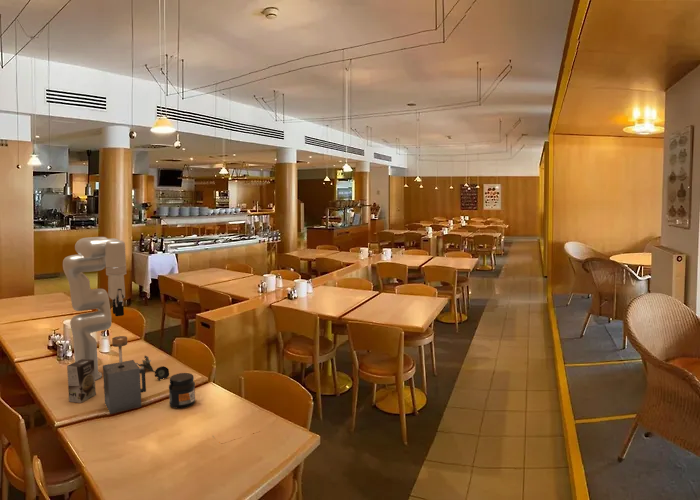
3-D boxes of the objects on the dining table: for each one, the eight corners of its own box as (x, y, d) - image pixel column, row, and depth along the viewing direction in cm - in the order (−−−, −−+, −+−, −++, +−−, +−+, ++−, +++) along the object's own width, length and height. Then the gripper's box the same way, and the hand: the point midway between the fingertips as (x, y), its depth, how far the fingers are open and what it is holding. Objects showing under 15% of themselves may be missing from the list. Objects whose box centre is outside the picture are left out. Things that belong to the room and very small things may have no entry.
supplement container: (198, 405, 209) (197, 378, 208) (172, 411, 204) (171, 383, 202) (192, 396, 218) (191, 370, 217) (167, 401, 213) (166, 375, 211)
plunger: (106, 379, 209) (104, 337, 207) (131, 374, 215) (129, 333, 213) (111, 387, 201) (108, 343, 199) (136, 381, 207) (134, 339, 205)
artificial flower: (153, 385, 234) (146, 366, 232) (138, 376, 251) (131, 359, 249) (171, 376, 239) (164, 357, 237) (155, 368, 257) (148, 351, 254)
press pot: (104, 403, 211) (102, 365, 209) (142, 395, 220) (140, 358, 217) (110, 414, 201) (107, 374, 199) (149, 404, 210) (147, 366, 208)
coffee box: (81, 403, 211) (79, 366, 209) (68, 401, 212) (66, 365, 210) (96, 394, 220) (94, 359, 218) (83, 393, 221) (81, 358, 219)
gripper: (102, 268, 207) (104, 311, 209) (109, 274, 193) (112, 320, 196) (121, 267, 211) (124, 309, 214) (130, 272, 198) (132, 317, 200)
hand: (118, 314), depth 205 cm, fingers open, 4 cm apart
